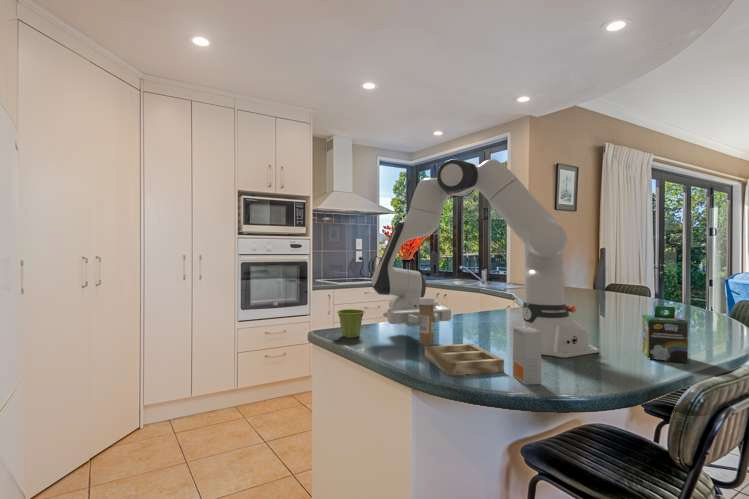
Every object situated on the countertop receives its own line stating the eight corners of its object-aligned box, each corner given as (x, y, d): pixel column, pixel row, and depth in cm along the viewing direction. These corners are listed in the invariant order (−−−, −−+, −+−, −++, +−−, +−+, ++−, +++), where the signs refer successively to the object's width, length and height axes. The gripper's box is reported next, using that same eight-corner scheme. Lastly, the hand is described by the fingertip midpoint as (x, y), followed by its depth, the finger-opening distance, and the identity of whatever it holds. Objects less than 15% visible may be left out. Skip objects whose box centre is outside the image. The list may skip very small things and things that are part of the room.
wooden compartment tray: (471, 353, 114) (472, 343, 114) (503, 371, 98) (504, 359, 98) (424, 357, 110) (424, 346, 110) (449, 376, 94) (449, 363, 94)
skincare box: (512, 376, 94) (512, 326, 94) (529, 375, 95) (529, 326, 95) (523, 385, 88) (524, 332, 88) (541, 384, 89) (542, 331, 89)
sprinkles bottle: (437, 343, 116) (437, 298, 116) (425, 345, 113) (425, 299, 113) (427, 340, 119) (427, 296, 119) (415, 342, 117) (415, 297, 117)
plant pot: (336, 333, 140) (337, 309, 139) (363, 333, 141) (363, 308, 140) (337, 339, 130) (337, 313, 130) (365, 339, 131) (365, 313, 131)
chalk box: (679, 355, 114) (679, 304, 113) (688, 364, 105) (689, 309, 105) (641, 352, 117) (641, 302, 117) (647, 359, 109) (648, 306, 109)
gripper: (381, 303, 126) (393, 310, 113) (440, 301, 131) (458, 307, 118) (381, 323, 126) (393, 332, 113) (440, 320, 131) (459, 328, 118)
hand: (427, 319), depth 115 cm, fingers closed on sprinkles bottle, 4 cm apart
